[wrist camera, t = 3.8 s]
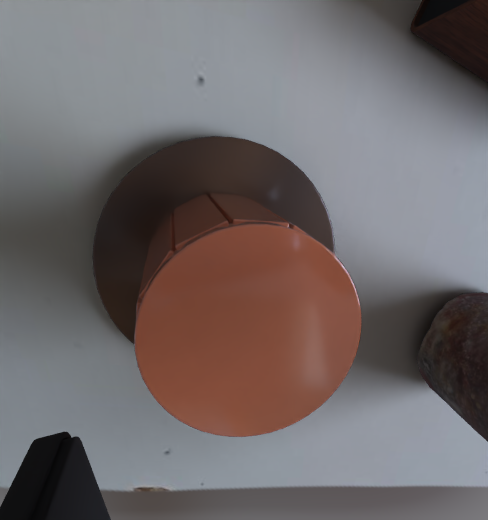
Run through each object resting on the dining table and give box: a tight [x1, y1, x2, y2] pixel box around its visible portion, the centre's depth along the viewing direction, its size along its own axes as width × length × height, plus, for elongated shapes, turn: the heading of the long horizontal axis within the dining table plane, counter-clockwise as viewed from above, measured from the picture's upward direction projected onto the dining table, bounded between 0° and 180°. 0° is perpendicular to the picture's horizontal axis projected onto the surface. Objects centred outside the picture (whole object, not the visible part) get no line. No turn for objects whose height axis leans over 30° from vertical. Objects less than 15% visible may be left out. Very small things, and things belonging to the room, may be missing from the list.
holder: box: [93, 136, 335, 344], centre depth 18 cm, size 13×13×10 cm
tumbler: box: [134, 193, 361, 437], centre depth 17 cm, size 7×7×9 cm
